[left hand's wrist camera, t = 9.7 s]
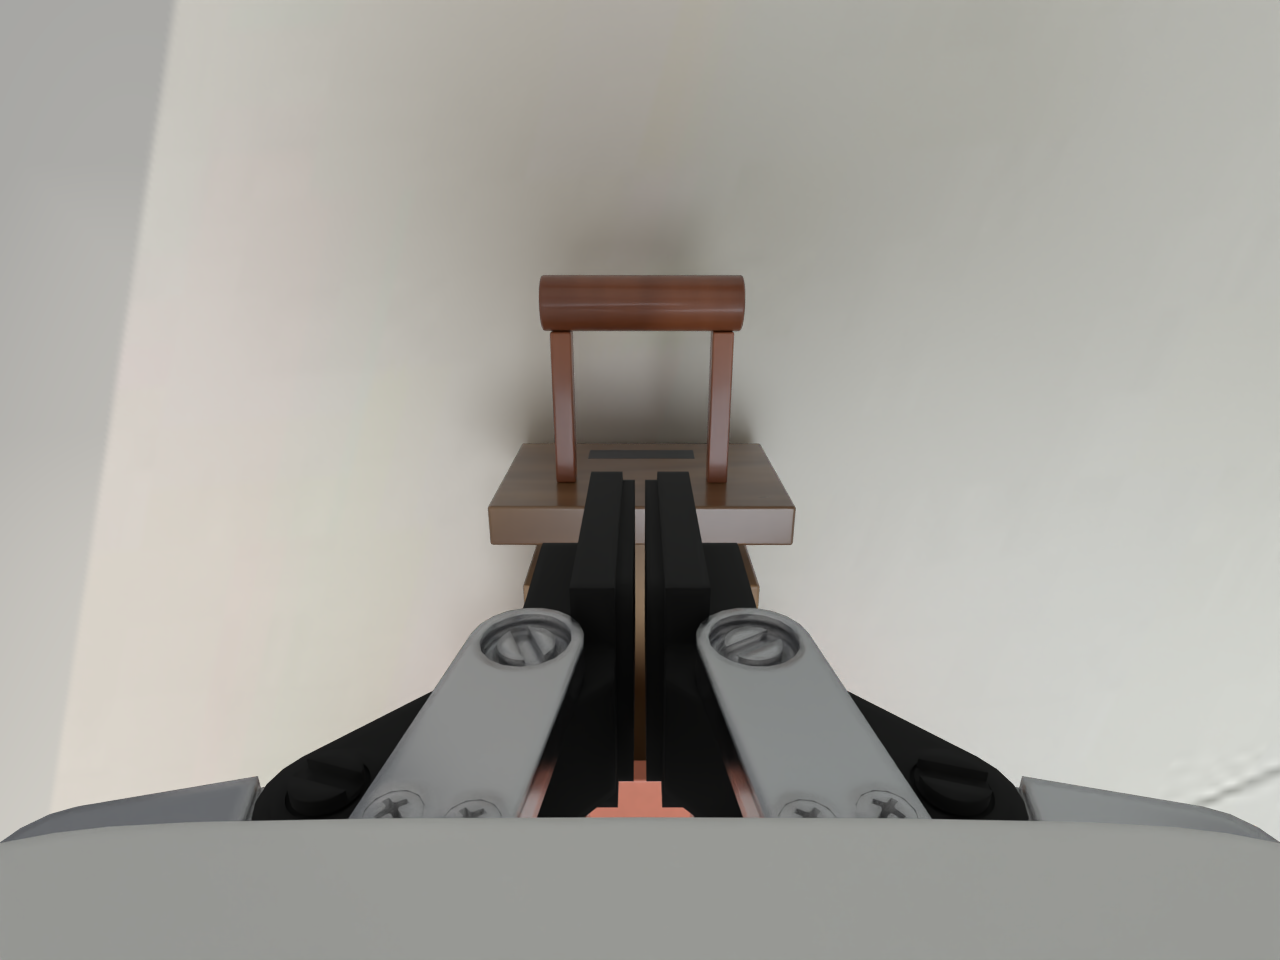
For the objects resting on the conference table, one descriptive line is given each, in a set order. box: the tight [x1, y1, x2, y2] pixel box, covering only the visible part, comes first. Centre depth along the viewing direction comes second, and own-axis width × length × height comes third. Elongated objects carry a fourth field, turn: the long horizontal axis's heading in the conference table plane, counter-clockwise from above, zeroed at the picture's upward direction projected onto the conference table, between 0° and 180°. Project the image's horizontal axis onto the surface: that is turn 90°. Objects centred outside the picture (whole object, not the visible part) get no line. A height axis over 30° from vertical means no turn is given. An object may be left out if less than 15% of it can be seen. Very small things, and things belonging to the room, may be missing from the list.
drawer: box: [488, 275, 796, 760], centre depth 24 cm, size 22×9×6 cm, turn 0°
